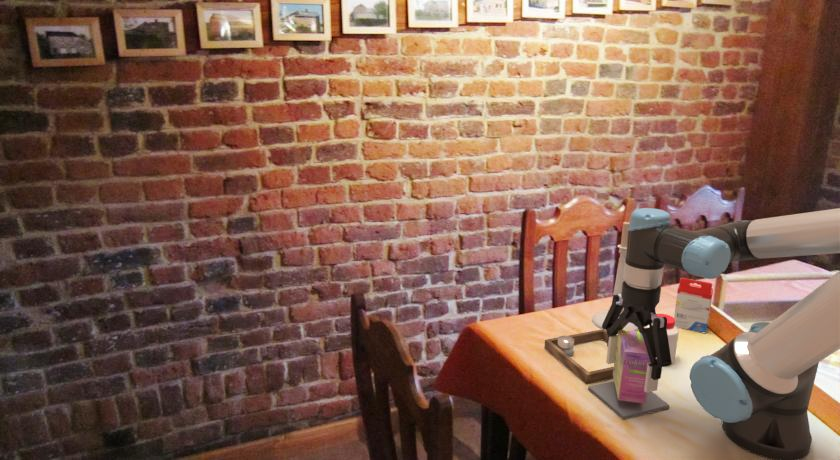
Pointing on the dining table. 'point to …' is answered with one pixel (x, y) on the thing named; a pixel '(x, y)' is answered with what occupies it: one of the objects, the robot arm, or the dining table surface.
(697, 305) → the ink box
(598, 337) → the wooden tray
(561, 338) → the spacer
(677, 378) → the dining table surface
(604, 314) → the candlestick
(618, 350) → the box
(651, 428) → the dining table surface
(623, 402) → the coaster
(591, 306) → the dining table surface
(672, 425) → the dining table surface
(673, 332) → the pill bottle
